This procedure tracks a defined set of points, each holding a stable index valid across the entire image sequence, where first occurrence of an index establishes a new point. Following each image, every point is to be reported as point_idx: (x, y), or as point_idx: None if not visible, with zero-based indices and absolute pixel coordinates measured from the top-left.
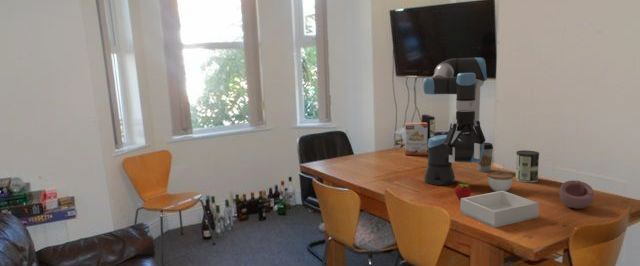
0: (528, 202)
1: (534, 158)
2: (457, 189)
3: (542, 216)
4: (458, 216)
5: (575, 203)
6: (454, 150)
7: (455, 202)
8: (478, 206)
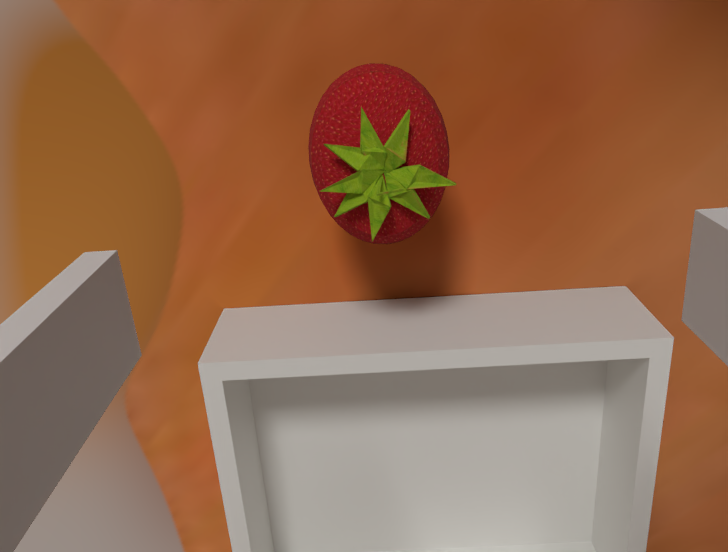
0: None
1: None
2: (311, 162)
3: None
4: (173, 356)
5: None
6: (29, 511)
7: None
8: (228, 524)
